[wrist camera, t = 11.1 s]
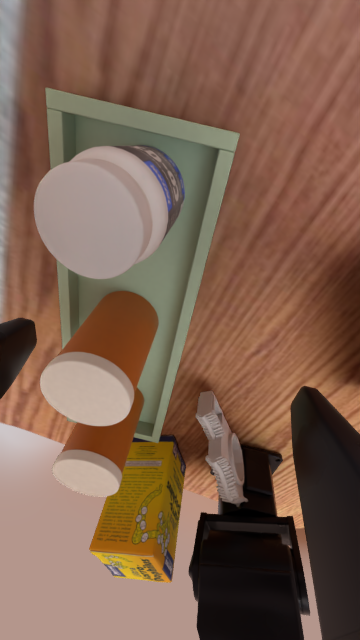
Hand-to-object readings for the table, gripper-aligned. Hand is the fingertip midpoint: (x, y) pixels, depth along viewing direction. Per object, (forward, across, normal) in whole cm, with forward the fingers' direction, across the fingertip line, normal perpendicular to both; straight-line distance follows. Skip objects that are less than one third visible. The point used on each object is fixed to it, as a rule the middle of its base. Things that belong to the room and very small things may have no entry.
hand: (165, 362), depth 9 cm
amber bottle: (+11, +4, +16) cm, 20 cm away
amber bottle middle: (+11, +4, +6) cm, 13 cm away
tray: (+12, +4, +6) cm, 14 cm away
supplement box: (+12, -1, +25) cm, 28 cm away
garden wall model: (+11, -7, +17) cm, 22 cm away
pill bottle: (+11, +4, -3) cm, 12 cm away
